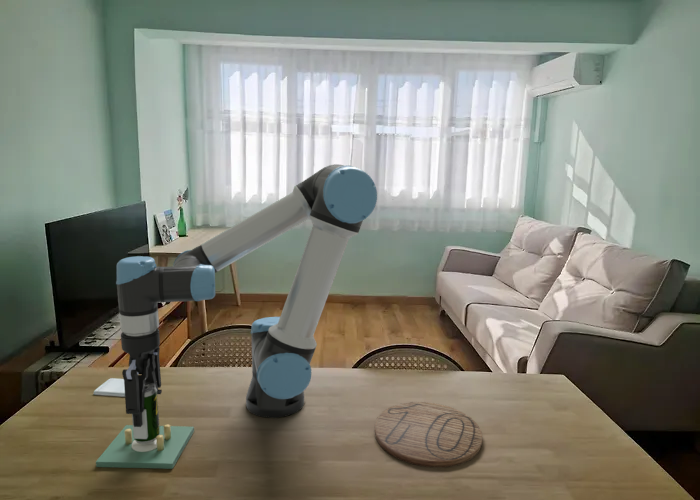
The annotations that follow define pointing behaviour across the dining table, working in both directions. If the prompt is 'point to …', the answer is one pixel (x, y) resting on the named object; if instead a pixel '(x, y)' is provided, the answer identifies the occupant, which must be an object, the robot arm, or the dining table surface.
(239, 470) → the dining table surface
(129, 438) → the board
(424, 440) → the trivet
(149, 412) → the beer can
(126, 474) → the dining table surface
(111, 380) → the hard drive
